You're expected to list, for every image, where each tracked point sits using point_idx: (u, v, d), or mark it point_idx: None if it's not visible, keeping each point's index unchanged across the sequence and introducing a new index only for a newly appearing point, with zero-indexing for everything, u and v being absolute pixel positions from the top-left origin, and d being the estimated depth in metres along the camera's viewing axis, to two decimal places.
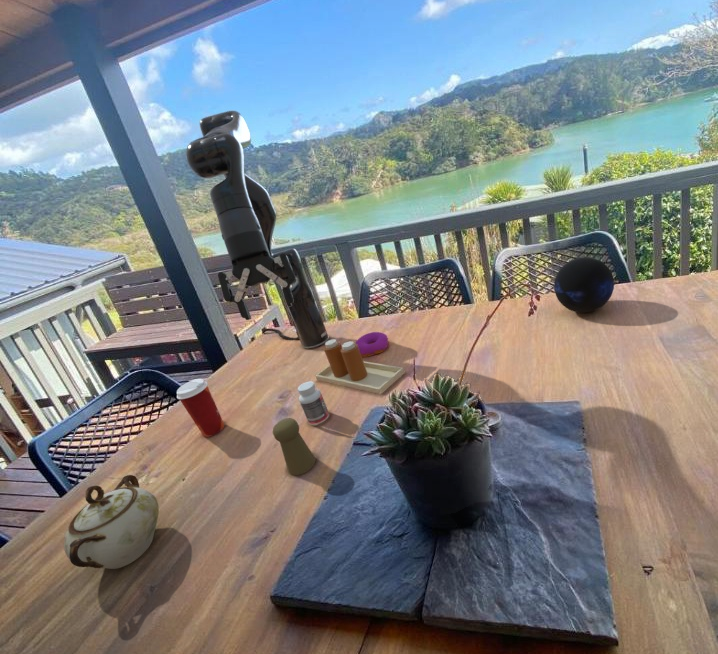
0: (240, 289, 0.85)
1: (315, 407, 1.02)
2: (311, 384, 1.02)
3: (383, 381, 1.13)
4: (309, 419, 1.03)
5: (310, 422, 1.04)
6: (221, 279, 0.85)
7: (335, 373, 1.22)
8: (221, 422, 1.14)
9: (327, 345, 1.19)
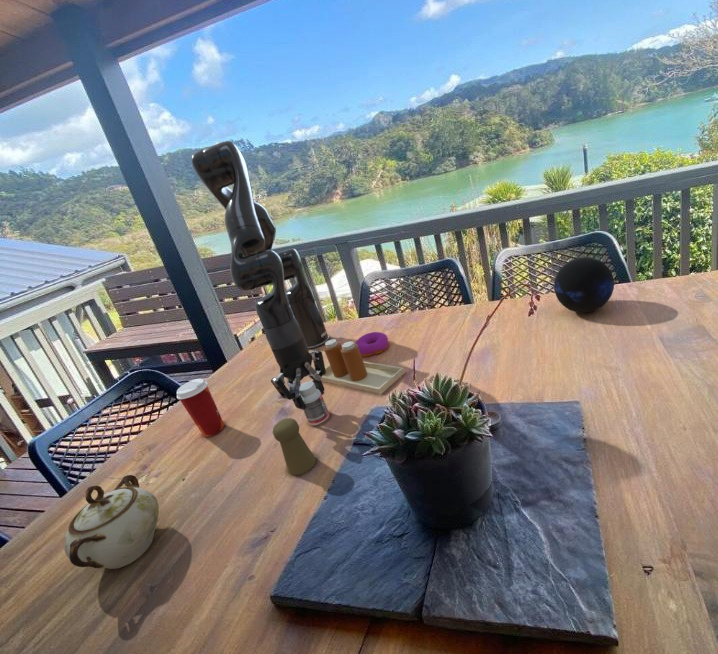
0: (298, 386, 0.99)
1: (315, 407, 1.02)
2: (311, 384, 1.02)
3: (383, 381, 1.13)
4: (309, 419, 1.03)
5: (310, 422, 1.04)
6: (281, 385, 0.95)
7: (335, 373, 1.22)
8: (221, 422, 1.14)
9: (327, 345, 1.19)
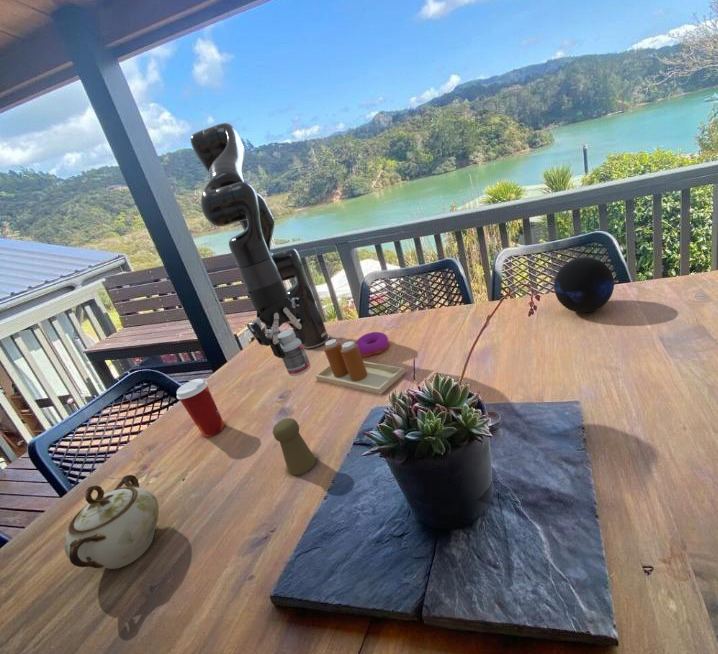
0: (276, 332, 0.93)
1: (295, 356, 0.96)
2: (291, 332, 0.97)
3: (383, 381, 1.13)
4: (289, 369, 0.98)
5: (290, 372, 0.98)
6: (257, 329, 0.90)
7: (335, 373, 1.22)
8: (221, 422, 1.14)
9: (327, 345, 1.19)
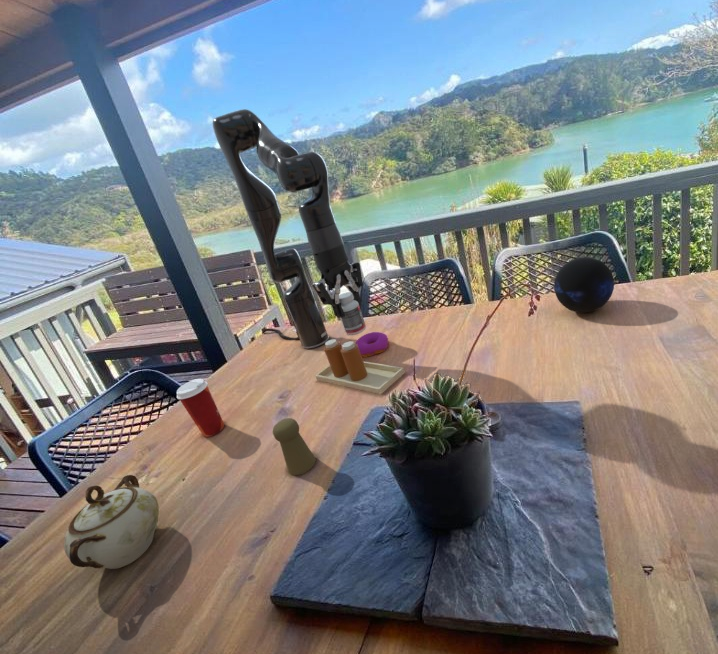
0: (338, 293, 1.01)
1: (354, 315, 1.04)
2: (350, 293, 1.05)
3: (383, 381, 1.13)
4: (347, 329, 1.06)
5: (348, 332, 1.06)
6: (322, 288, 0.98)
7: (335, 373, 1.22)
8: (221, 422, 1.14)
9: (327, 345, 1.19)
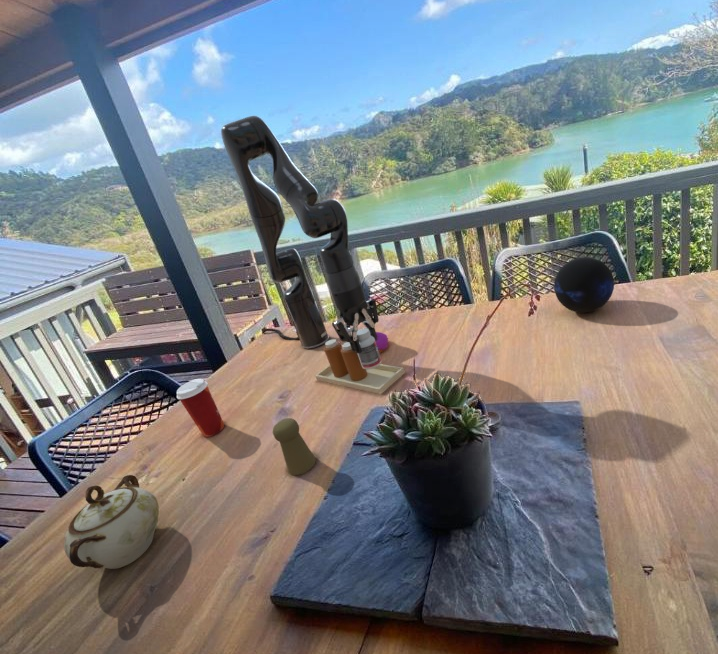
0: (356, 330, 1.06)
1: (370, 351, 1.09)
2: (366, 330, 1.09)
3: (383, 381, 1.13)
4: (364, 363, 1.10)
5: (365, 366, 1.11)
6: (341, 327, 1.03)
7: (335, 373, 1.22)
8: (221, 422, 1.14)
9: (327, 345, 1.19)
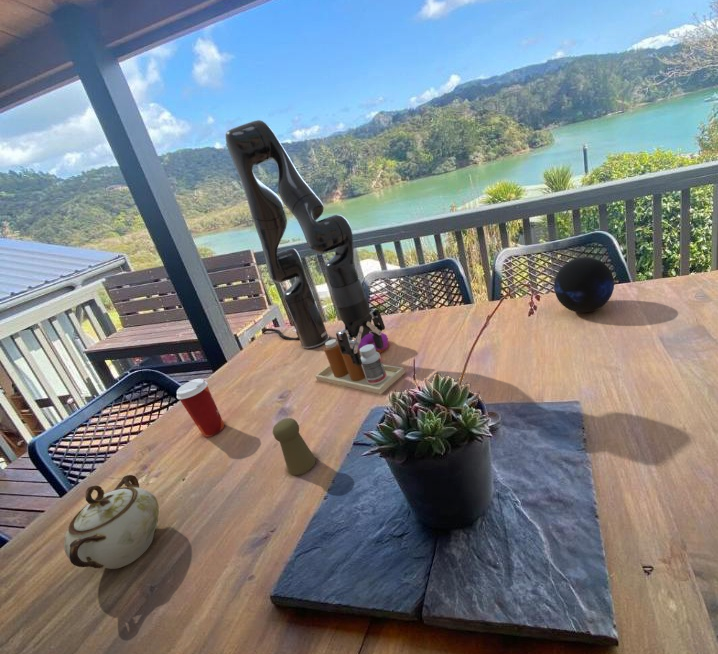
0: (358, 343, 1.07)
1: (376, 367, 1.11)
2: (372, 346, 1.11)
3: (383, 381, 1.13)
4: (369, 379, 1.12)
5: (370, 382, 1.13)
6: (345, 338, 1.04)
7: (335, 373, 1.22)
8: (221, 422, 1.14)
9: (327, 345, 1.19)
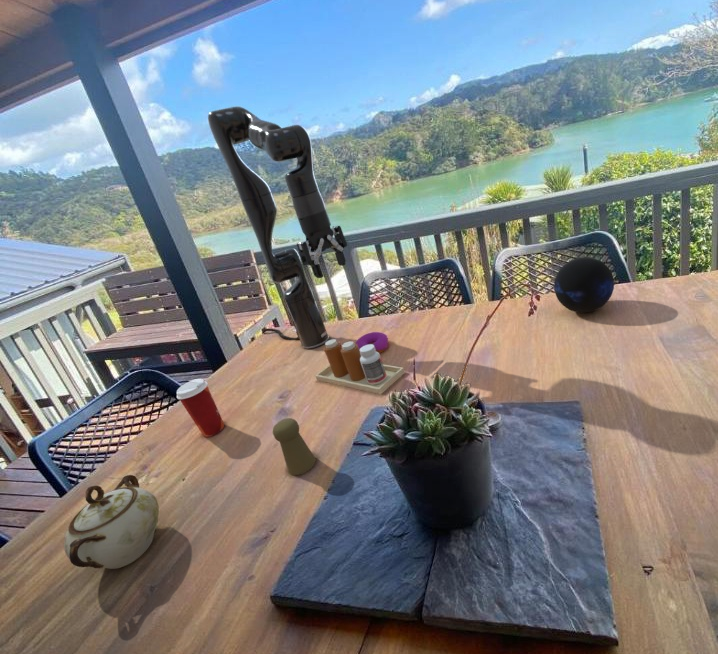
0: (318, 254, 1.11)
1: (376, 367, 1.11)
2: (372, 346, 1.11)
3: (383, 381, 1.13)
4: (369, 379, 1.12)
5: (370, 382, 1.13)
6: (305, 247, 1.08)
7: (335, 373, 1.22)
8: (221, 422, 1.14)
9: (327, 345, 1.19)
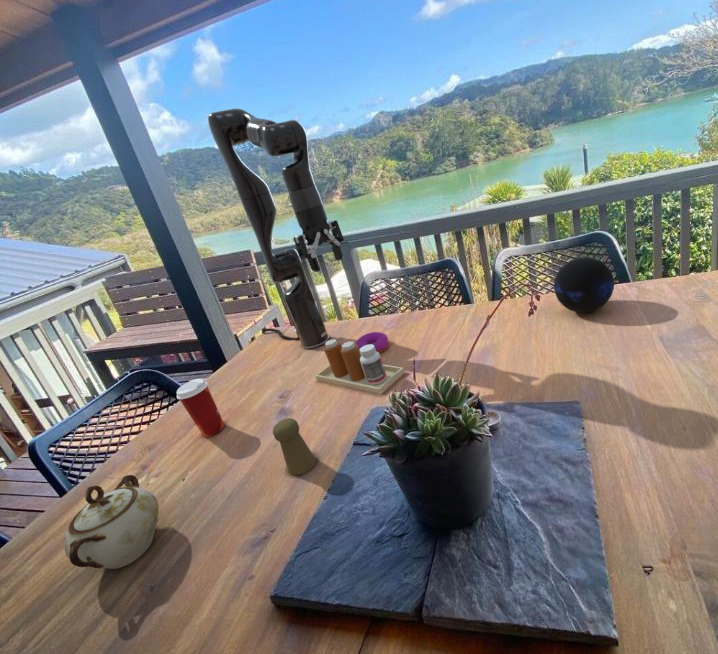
0: (315, 248, 1.12)
1: (376, 367, 1.11)
2: (372, 346, 1.11)
3: (383, 381, 1.13)
4: (369, 379, 1.12)
5: (370, 382, 1.13)
6: (301, 241, 1.09)
7: (335, 373, 1.22)
8: (221, 422, 1.14)
9: (327, 345, 1.19)
